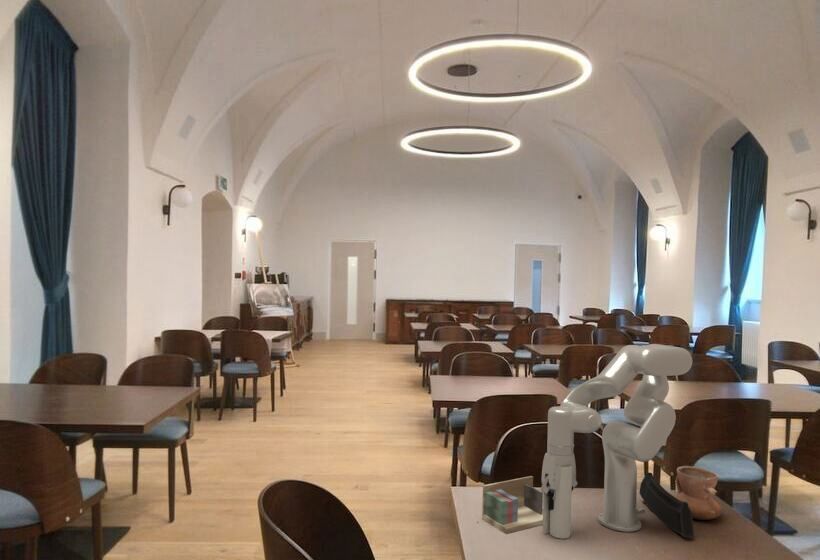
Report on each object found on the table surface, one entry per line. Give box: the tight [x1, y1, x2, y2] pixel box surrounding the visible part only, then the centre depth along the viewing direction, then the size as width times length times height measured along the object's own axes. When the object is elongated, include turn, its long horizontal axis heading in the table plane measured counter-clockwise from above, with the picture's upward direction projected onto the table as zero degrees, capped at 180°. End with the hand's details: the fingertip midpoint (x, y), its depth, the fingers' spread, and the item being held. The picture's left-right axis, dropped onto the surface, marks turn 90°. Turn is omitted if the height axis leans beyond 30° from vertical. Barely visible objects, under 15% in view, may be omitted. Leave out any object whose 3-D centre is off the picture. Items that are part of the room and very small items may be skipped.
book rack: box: [481, 475, 543, 535], centre depth 176 cm, size 12×20×10 cm, turn 119°
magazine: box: [638, 472, 695, 539], centre depth 179 cm, size 17×3×30 cm
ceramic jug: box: [673, 465, 722, 521], centre depth 184 cm, size 18×14×14 cm
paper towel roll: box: [542, 465, 573, 540], centre depth 167 cm, size 7×6×21 cm
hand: (558, 509), depth 167 cm, fingers open, 3 cm apart
